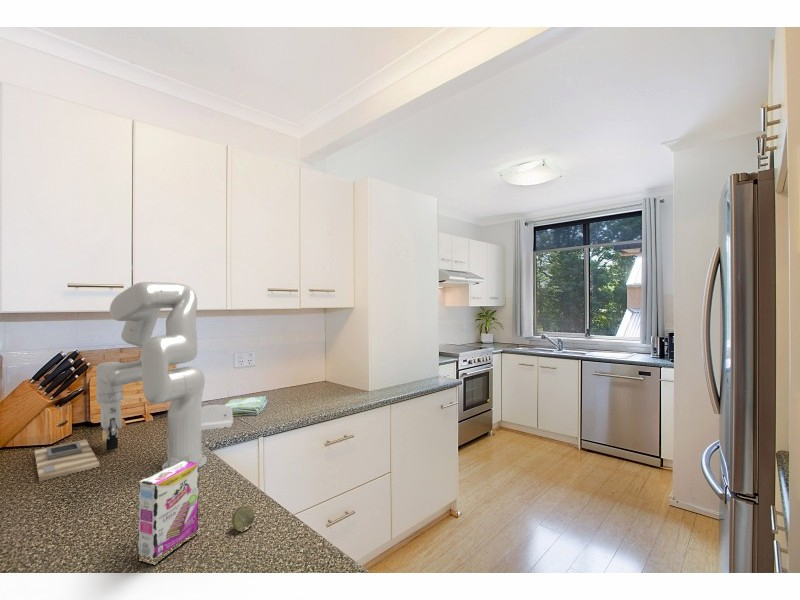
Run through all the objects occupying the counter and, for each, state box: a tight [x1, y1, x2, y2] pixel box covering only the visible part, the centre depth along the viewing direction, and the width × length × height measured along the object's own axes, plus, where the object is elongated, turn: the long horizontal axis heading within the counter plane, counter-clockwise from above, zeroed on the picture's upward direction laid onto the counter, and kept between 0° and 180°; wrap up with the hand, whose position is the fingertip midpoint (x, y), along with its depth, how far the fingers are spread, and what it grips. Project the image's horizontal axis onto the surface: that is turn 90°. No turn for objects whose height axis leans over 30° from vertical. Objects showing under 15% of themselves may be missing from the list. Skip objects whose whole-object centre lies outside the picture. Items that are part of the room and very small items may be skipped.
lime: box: [231, 505, 255, 532], centre depth 89 cm, size 4×5×5 cm
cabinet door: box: [33, 439, 100, 482], centre depth 128 cm, size 30×14×3 cm, turn 46°
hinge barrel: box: [101, 428, 119, 452], centre depth 137 cm, size 4×4×7 cm
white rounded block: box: [201, 404, 234, 431], centre depth 163 cm, size 17×5×10 cm, turn 109°
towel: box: [224, 395, 268, 417], centre depth 186 cm, size 18×21×5 cm
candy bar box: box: [137, 461, 200, 558], centre depth 82 cm, size 11×5×16 cm, turn 163°
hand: (110, 446), depth 137 cm, fingers open, 6 cm apart
